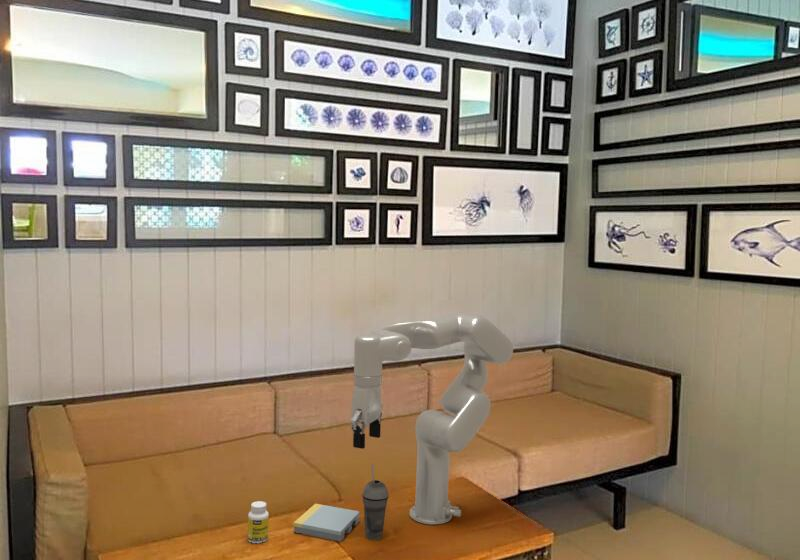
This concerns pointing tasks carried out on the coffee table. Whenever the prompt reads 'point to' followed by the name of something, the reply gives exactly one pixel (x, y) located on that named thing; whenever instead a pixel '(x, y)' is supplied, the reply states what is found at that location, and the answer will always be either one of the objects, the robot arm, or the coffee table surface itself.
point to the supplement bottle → (258, 523)
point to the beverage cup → (374, 508)
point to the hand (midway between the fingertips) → (367, 442)
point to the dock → (326, 522)
